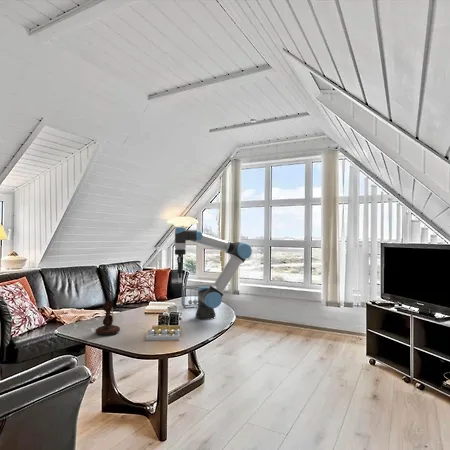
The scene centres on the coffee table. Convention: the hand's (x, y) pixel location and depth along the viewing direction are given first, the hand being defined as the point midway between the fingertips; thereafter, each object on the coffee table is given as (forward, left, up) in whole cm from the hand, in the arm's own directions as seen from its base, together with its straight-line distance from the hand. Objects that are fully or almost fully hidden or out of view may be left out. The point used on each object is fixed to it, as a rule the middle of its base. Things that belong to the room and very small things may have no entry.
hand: (179, 282), depth 248 cm
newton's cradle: (-12, -58, -30) cm, 66 cm away
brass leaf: (+7, +23, -29) cm, 38 cm away
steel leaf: (+7, +31, -29) cm, 43 cm away
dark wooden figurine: (+44, +20, -30) cm, 57 cm away
